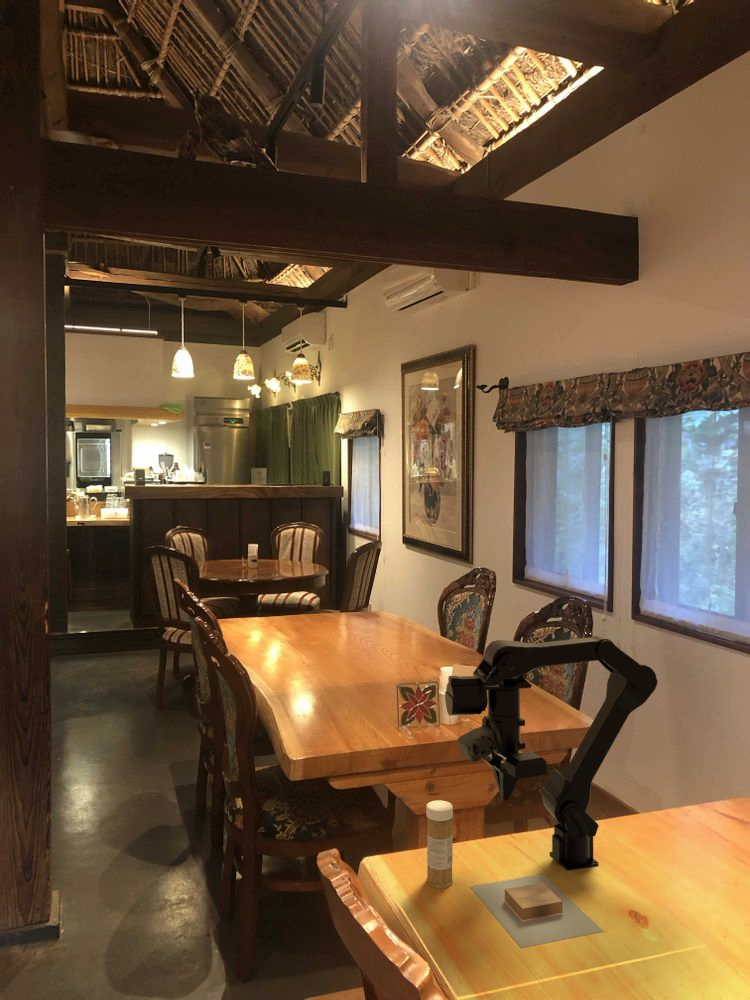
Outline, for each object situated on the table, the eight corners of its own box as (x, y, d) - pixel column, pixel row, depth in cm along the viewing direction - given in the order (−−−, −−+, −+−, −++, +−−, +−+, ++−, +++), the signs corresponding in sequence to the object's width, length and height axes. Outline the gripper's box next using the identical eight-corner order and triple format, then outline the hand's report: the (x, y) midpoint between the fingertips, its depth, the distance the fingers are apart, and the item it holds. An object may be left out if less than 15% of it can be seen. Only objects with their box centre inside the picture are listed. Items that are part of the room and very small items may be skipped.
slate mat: (543, 875, 128) (543, 873, 128) (603, 933, 111) (603, 931, 111) (469, 888, 124) (469, 886, 124) (520, 949, 106) (520, 947, 106)
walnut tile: (542, 882, 121) (562, 901, 115) (542, 894, 121) (562, 914, 115) (504, 889, 119) (522, 908, 113) (504, 901, 119) (522, 921, 113)
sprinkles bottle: (437, 873, 129) (437, 797, 129) (458, 882, 125) (458, 804, 126) (421, 883, 125) (420, 804, 125) (442, 893, 122) (441, 812, 122)
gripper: (440, 704, 137) (441, 787, 137) (490, 732, 120) (491, 828, 120) (493, 698, 141) (494, 778, 141) (548, 725, 124) (549, 817, 124)
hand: (504, 799), depth 131 cm, fingers closed
